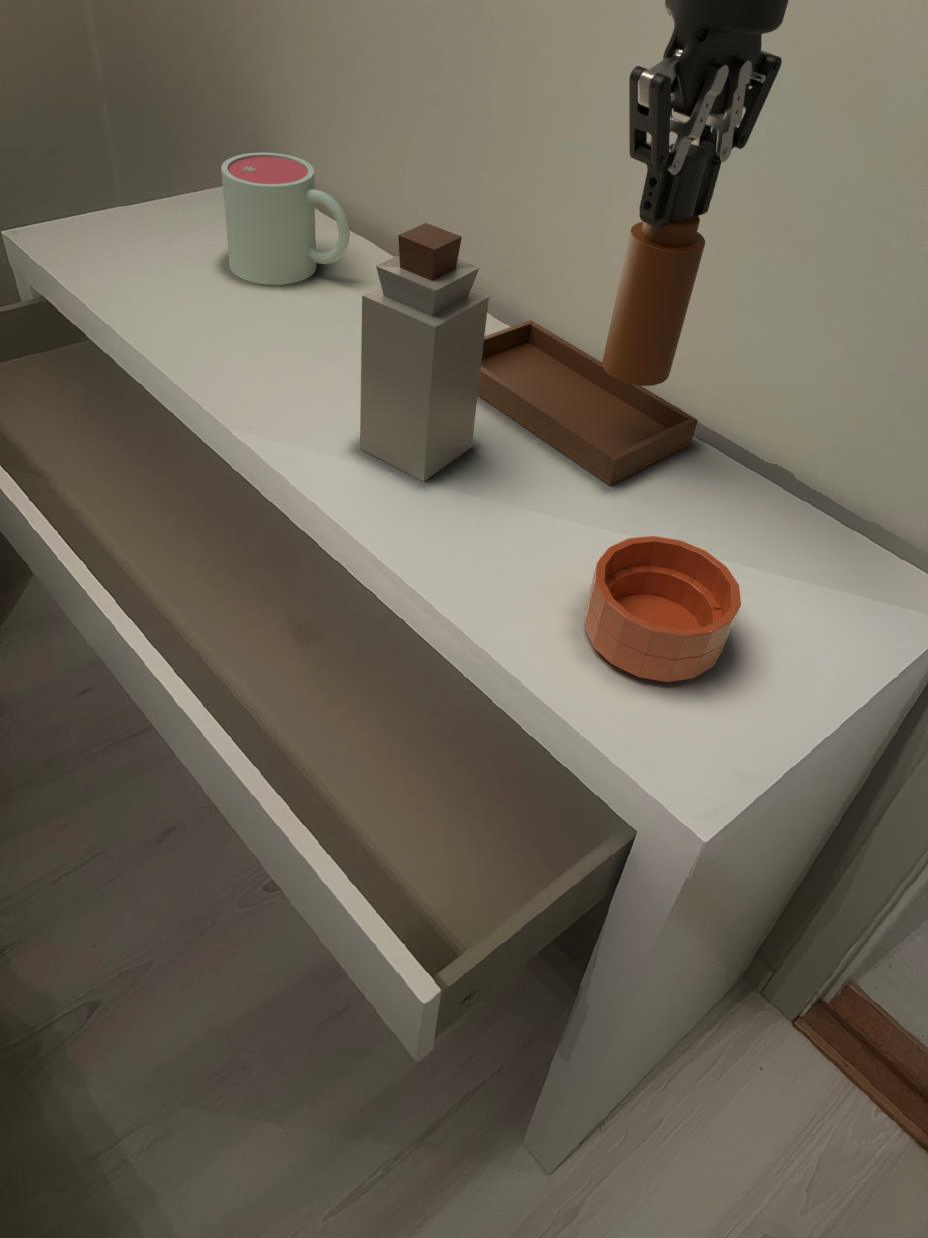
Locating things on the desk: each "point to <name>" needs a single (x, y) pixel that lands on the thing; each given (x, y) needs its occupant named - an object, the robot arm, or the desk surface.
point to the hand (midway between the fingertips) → (673, 215)
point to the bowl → (661, 608)
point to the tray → (579, 403)
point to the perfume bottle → (421, 354)
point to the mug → (275, 218)
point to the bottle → (657, 286)
